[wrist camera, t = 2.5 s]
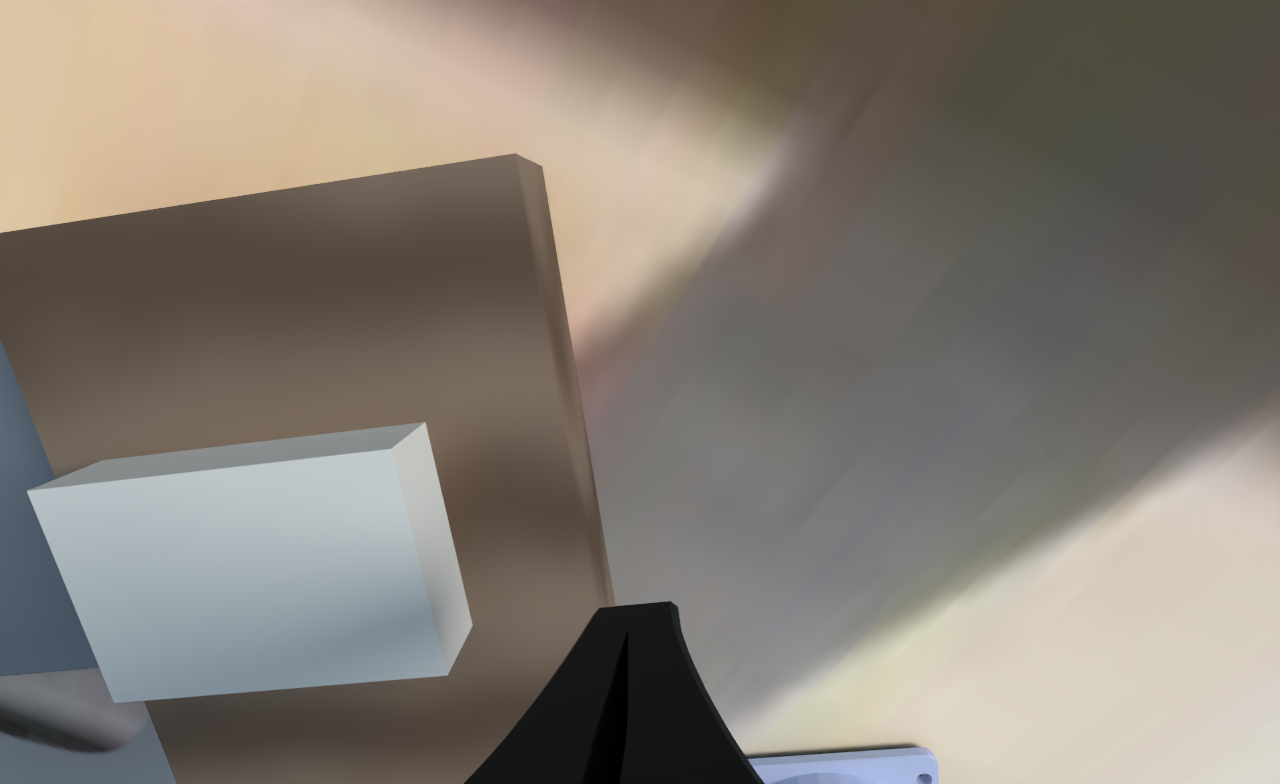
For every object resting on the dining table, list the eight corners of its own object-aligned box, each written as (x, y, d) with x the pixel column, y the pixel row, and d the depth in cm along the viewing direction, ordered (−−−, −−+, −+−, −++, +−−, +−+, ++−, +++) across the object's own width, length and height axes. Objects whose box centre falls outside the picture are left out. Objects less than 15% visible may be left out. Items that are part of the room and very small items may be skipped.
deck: (632, 713, 21) (626, 789, 18) (252, 742, 22) (190, 818, 20) (542, 166, 17) (515, 153, 14) (74, 237, 18) (-40, 238, 15)
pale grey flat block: (425, 422, 16) (390, 449, 14) (472, 625, 17) (447, 675, 15) (101, 460, 17) (26, 491, 15) (173, 652, 18) (114, 702, 16)
